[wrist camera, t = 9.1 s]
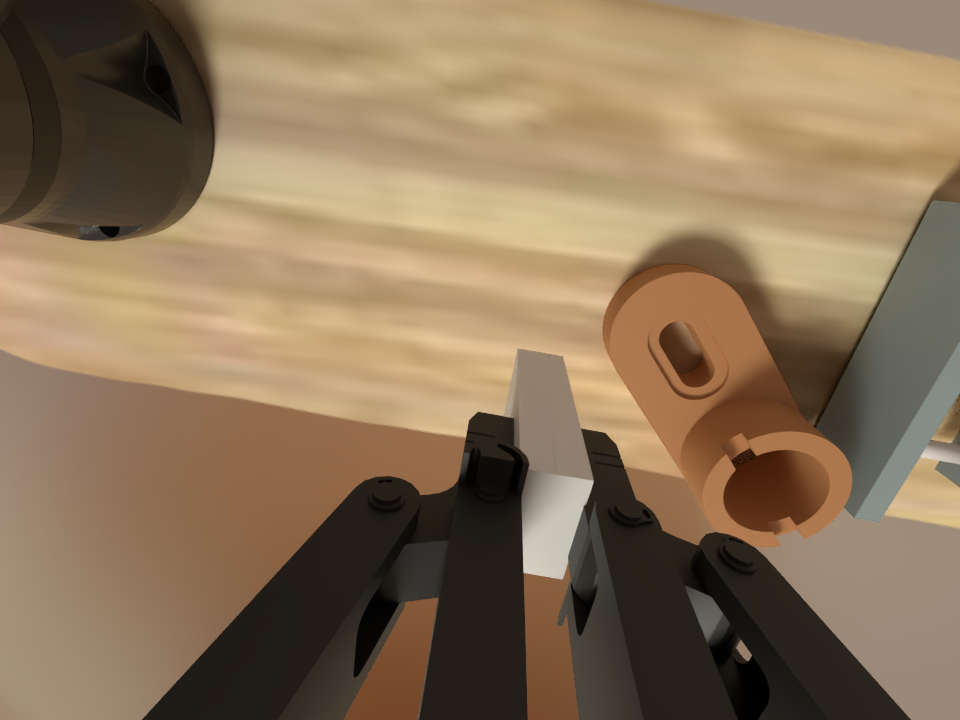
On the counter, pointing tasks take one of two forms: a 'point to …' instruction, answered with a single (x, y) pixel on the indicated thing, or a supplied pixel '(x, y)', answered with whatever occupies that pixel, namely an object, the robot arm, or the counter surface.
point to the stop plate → (903, 372)
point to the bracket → (724, 408)
